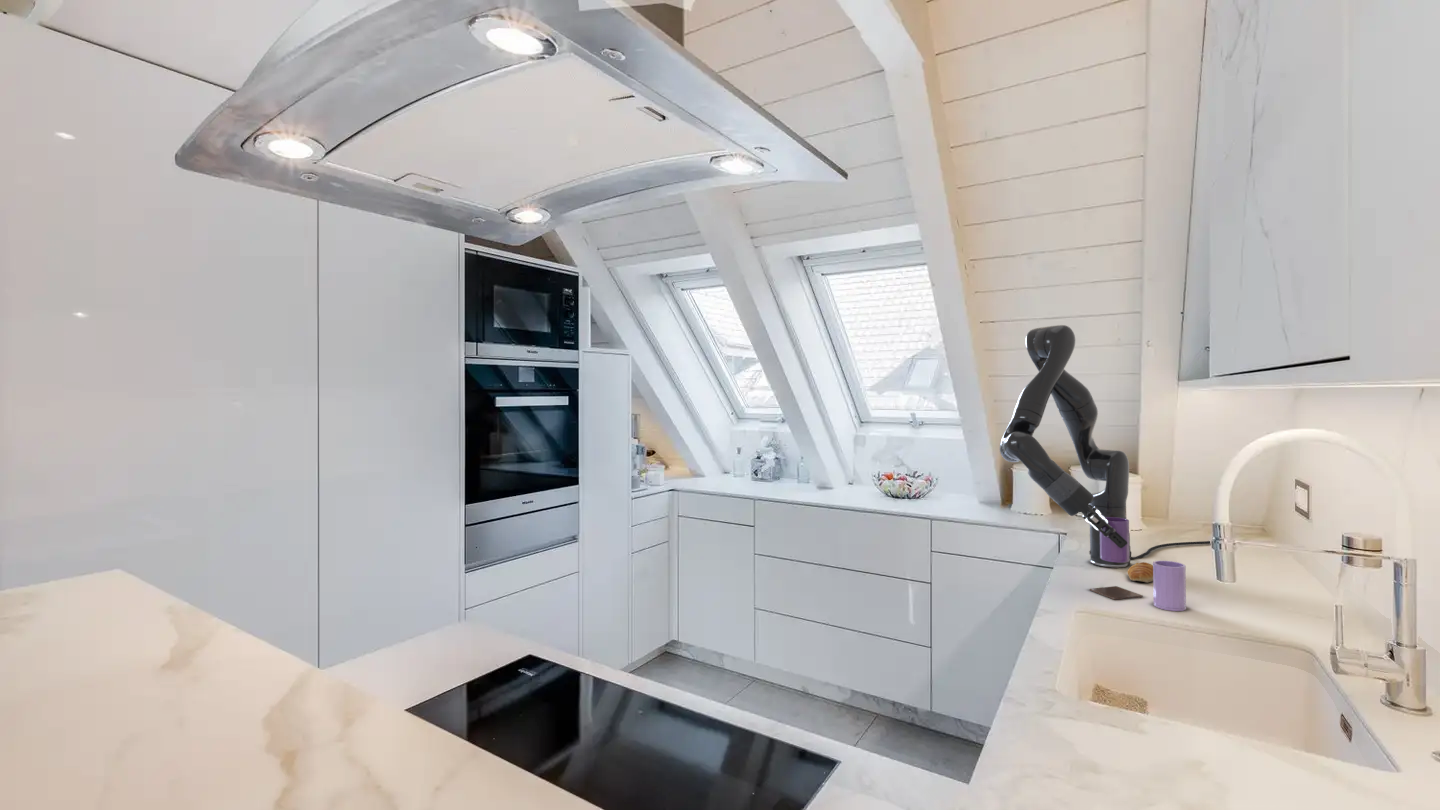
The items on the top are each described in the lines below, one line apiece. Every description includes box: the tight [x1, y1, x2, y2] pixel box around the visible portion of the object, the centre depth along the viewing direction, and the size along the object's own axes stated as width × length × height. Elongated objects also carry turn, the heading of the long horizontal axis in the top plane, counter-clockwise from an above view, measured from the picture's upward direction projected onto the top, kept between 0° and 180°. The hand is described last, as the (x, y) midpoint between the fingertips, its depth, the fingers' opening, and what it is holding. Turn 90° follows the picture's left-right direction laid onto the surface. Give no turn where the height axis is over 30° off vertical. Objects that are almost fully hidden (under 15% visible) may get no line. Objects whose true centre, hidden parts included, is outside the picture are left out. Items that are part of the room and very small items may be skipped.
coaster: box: [1089, 585, 1143, 601], centre depth 162 cm, size 8×8×1 cm
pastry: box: [1127, 561, 1153, 584], centre depth 173 cm, size 9×7×4 cm
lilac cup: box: [1152, 560, 1187, 612], centre depth 151 cm, size 6×6×10 cm
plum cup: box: [1100, 517, 1130, 563], centre depth 161 cm, size 6×6×10 cm
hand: (1122, 542), depth 161 cm, fingers closed on plum cup, 6 cm apart
